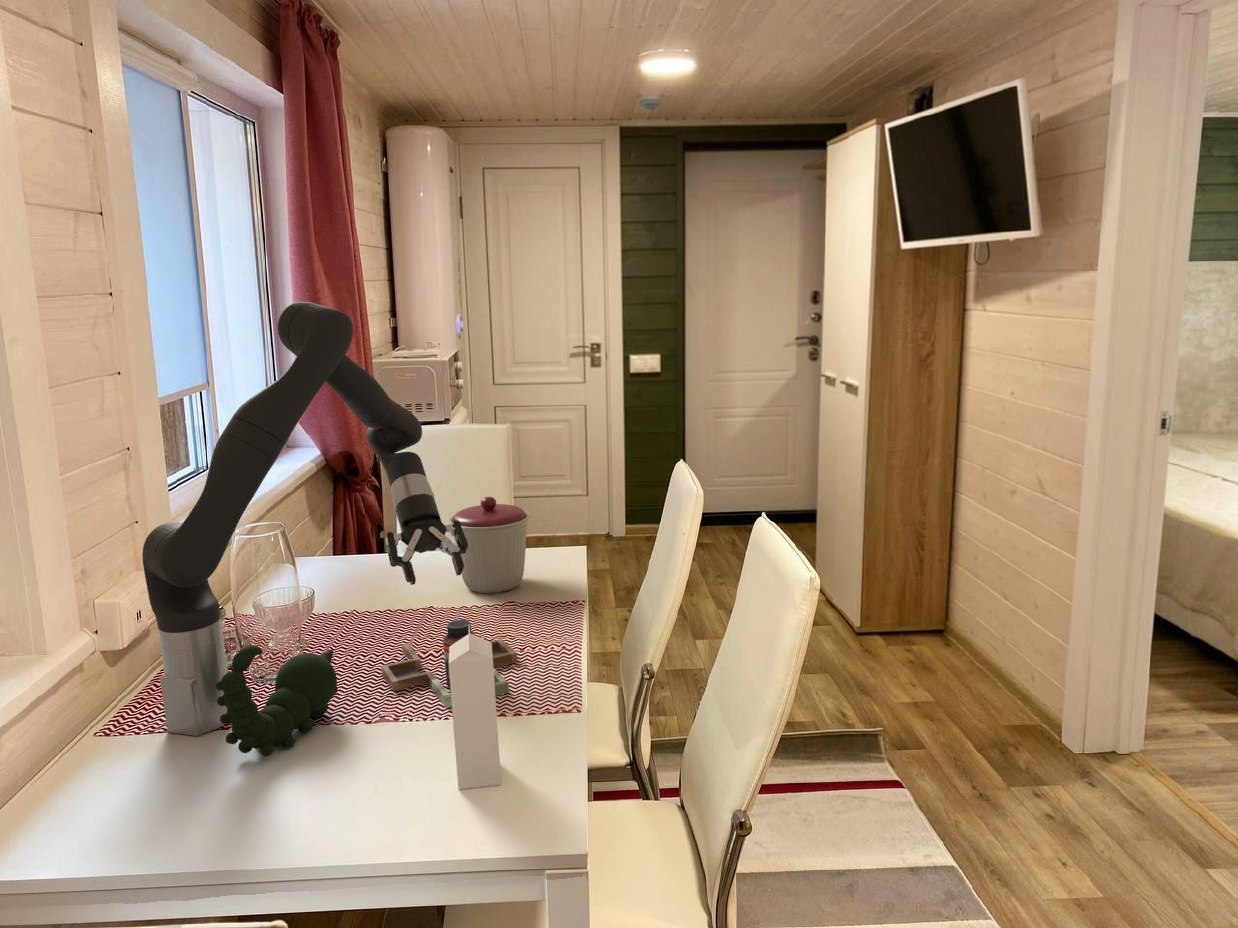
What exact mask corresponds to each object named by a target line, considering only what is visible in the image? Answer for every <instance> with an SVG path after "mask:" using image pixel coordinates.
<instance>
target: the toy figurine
mask: <svg viewBox="0 0 1238 928" xmlns="http://www.w3.org/2000/svg"><path fill="white" fill-rule="evenodd" d="M263 653H264V651H263V650H262V648H261V647H260V646H258V645H254V644H253V645H251V644H250V645H249V644H248V645H246V646H244V647H243V648H241V649H240V650H238V651H237V653H236V654H234V657H233V658H232V661H231V667H232V670H231V671H228V673H226V674H225V675H224V676H223V677H222V679H221V681H219V682H217V683H216V689H217V690H222V691H223V692H224V694H223V696H220V697H218V699H217V703H218V705H220V706H226V707H227V708H228V709H227V714H223V715H221V717H220V722H221V723H223V724H225V725H227V724H229V723H230V724H231V732H228V734H227V735H226V737H225V742H226V744H228V745H236V744H237V742H238V741H240V742H239V743H238V747H237V749H238V750H239V752H241V754H247V753H250V752H251V751H253V749H256V750H259V753H260V754H261V755H262V756H263V757H269V756H271V755H272V754H273V753H274V752H275V747H277V746H280V745H281V747H282V748H284V749H291V748H293V747H294V746H295V743H296V739H295V737H294V735H293V733H294V731H295V730H298V731H299V732H300V733H302V734H306V733H309V732H311V731H312V730H313V729H314V725H315V724H314V723H315V722H314V720H313V719H312V717H314V718H319V717H321V716H324V715H325V714H326V713H327V712H328V710H329V703H330V701H331V700H332V698H333V697H335V695H336V694H337V693H338V691H339V690H338V677H337V672H336V671H335V668H334V666H333V664H332V660H333V656H334V650H333V649H329V650H327V651H325V652H323V653H321V654H318V653H314V652H313V653H311V652H306V653H305V652H303V653H300V654H297V655H294V656H292V657H290V658H289V659H288V660H286V662H284V664H283V665H282V666H281V667H280V669H279V670H278V671H277V674H276V678H275V681H274V692H272V694H270V695H269V696H268V699H267V700H266V703H265V704H264V705H265V706H264V707H263V708H261V710H259V708H258V705H257V702H255V701H254V700H253V693H252V691H251V688H250V687H249V686H248V685H247V677H246V676H245V675H244V674H243V673H244V672H245V671H247V670H248V669H249V667H251V664H252V662H253V660H254V658H255V657H256V656H257V655H258V656H261V655H263Z"/></svg>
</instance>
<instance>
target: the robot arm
mask: <svg viewBox="0 0 1238 928" xmlns="http://www.w3.org/2000/svg"><path fill="white" fill-rule="evenodd" d="M277 332H278V337H279V340H280V342H281V343H282V345H283V346H284V347H285V348H286V349H287V350H288V351H289V352H291V353H292V354H293V355H294V356H295V359H294V360H293V362H292V363H291V365H290V366H289V368H288V369H287V370H285V372H284V373H283V374H282V375H281V376H280V377H278V379H276V380H275V381H273V383H271V384H270V385H268V386H266V387H265V388H263V389H261V390H260V391H258V392H257V393H255V394H254V395H252V396H251V397H250V398H249V399H248V400H246V401H245V402H244V403H242V404H241V405H240V407H238V409H237V410H236V411H235V412H234V413H233V415H232V417H230V418H231V419H230V420H229V421H228V423H227V425H226V426H225V428H224V430H223V431H222V433H221V434H220V436H219V438H218V440H217V442H216V444H215V445H214V449H213V453H212V455H211V459H210V464H209V469H208V472H207V476H206V481H205V484H204V487H203V490H202V491H201V494H200V496H199V498H198V499H197V502H196V504H194V506H193V508H192V509H191V510H190V512H189V514H188V515H187V516H186V518H185V519H184V520H183V522H180V521H170V522H165V523H163V524H162V523H161V524H160V525H158V526H156V527H155V528H154V529H153V530H152V531H151V532H150V533H148V535H147V537H146V539H145V541H144V543H143V546H142V565H143V573H144V578H145V585H146V589H147V594H148V600H149V604H150V607H151V610H152V611H153V612H152V613H153V615H154V616H155V619H156V624H157V625H156V626H157V633H158V639H159V645H160V653H161V660H162V666H163V675H161V676H159V683H160V689H161V695H162V703H163V709H164V710H163V711H164V717H165V724H166V730H167V732H168V733H173V734H180V735H181V734H182V735H188V736H193V737H199V736H200V735H203V734H204V733H207V732H212V731H215V730H217V729H219V728H221V727H223V726H225V725H226V724H223V723H221V722H220V717H221V715H223V714H227V709H228V708H227V707H226V706H220V705H218V703H217V699H218V697H220V696H223V694H224V692H223V691H222V690H217V689H216V683H217V682H219V681H221V679H222V677H223V676H224V675H225V674H226V673H228V672H229V671H228V663H227V657H226V656H227V655H226V648H225V640H224V634H223V633H224V632H223V626H222V625H223V624H222V617H221V608H220V604H219V602H218V601H219V600H218V599H217V597H216V596H215V594H214V593H213V591H212V588H211V586H210V584H209V578H210V577H211V576H212V575H213V573H214V572H215V571H216V570H217V568H218V566H219V564H220V563H221V560H222V559H223V556H224V554H225V551H226V549H227V548H228V545H229V544H230V541H231V539H232V537H233V535H234V533H235V531H236V528H237V526H238V524H239V522H240V520H241V519H242V516H243V514H244V513H245V511H246V509H247V508H248V506H249V505H250V503H251V501H252V499H253V498H254V496H255V495H256V494H257V492H258V490H259V489H260V486H261V485H262V483H263V481H264V480H265V478H266V476H267V475H268V473H269V471H270V470H271V468H272V467H273V466H274V464H275V462H276V460H277V459H278V457H279V456H280V455H281V452H282V451H283V449H284V448H285V445H286V444H287V442H288V440H289V438H290V437H291V435H292V433H293V432H294V430H295V428H296V427H297V425H298V423H299V421H301V418H302V417H303V415H304V414H305V412H306V411H307V409H308V407H309V405H310V404H311V403H312V401H313V400H314V398H315V397H316V396H317V394H318V393H319V391H320V389H321V388H322V387H323V386H324V385H325V383H326V384H327V385H329V387H331V389H333V391H334V392H336V394H337V395H338V396H339V398H340V399H341V400H342V401H343V402H344V403H345V404H346V405H347V407H348V408H349V409H350V410H351V412H352V413H353V414H354V415H355V417H357V419H358V420H359V422H361V423H362V424H363V425H364V426H365V427H367V431H366V440H367V443H368V445H369V446H370V448H371V450H372V451H373V452H374V454H375V455H376V456H377V458H378V459H379V461H380V462H381V465H382V467H383V469H384V471H385V473H386V476H387V480H388V483H389V487H390V490H391V491H390V492H391V499H392V502H393V506H394V510H395V514H396V518H397V520H398V521H397V522H398V524H399V528H400V532H398V533H393V532H392V531H388V532H387V533H386V538H385V545H386V550H387V555H388V560H389V564H390V565H389V566H391V567H392V568H393V567H394V568H396V567H400V568H402V571H403V575H404V578H405V581H406V583H410V585H411V586H412V585H413V586H414V585H415V584H416V581H417V579H416V574H415V571H414V568H413V567H414V566H413V564H412V559H413V557H414V556H415V553H416V552H417V553H419V554H423V553H425V552H433V551H436V550H439V551H440V552H442V553H444V554H446V555H449V556H450V557H451V562H452V565H453V568H454V571H455V575H456V576H457V577H458V576H462V572H463V569H464V564H463V561H462V557H461V554H464V553H466V550H467V547H468V543H467V540H466V537H465V535H464V532H463V530H462V527H461V525H460V522H459V521H457V520H455V521H454V522H453V524H450V523H449V524H446V525H445V524H444V523H443V522H442V519H441V516H440V515H441V514H440V513H439V509H438V506H437V503H436V500H435V493H434V492H433V490H432V487H431V485H430V483H429V481H428V478H427V475H426V470H425V468H424V465H423V461H422V459H421V457H420V456H419V455H418V454H417V453H416V452H413V451H403V450H405V449H408V448H410V447H412V446H414V445H416V444H418V443H419V442H420V441H421V439H422V436H423V428H422V425H421V422H420V421H419V419H418V418H417V416H416V415H414V414H413V413H412V412H411V411H410V410H409V409H407V408H405V407H404V406H402V405H400V404H399V403H397V402H396V401H394V400H393V399H391V398H390V396H389V395H388V393H387V392H386V391H385V390H384V388H383V387H382V385H381V384H380V382H378V380H377V379H375V377H373V376H372V375H371V374H370V373H369V371H368V372H367V371H366V370H365V369H364V368H363V367H361V366H360V365H359V364H358V363H356V362H355V361H354V360H352V359H351V358H350V357H349V356H348V355H346V354H347V353H348V351H349V348H350V346H351V344H352V340H353V337H354V336H353V335H354V325H353V322H352V320H351V317H350V316H349V315H348V314H346V313H345V312H343V311H341V310H339V309H336V308H332V307H328V306H325V305H321V304H318V303H314V302H311V301H310V302H309V301H296V302H291V303H290V304H288V305H287V306H285V307H284V308H283V309H282V312H281V313H280V315H279V318H278V321H277ZM401 451H402V452H401ZM446 533H449V534H450V536H451V537H453V538H454V537H455V538H454V541H455V540H456V543H457V545H458V546H456V544H455V543H453V542H452V540H451V539H450V538H449V537H447V536H446ZM400 541H401V542H402V543H404V545H406V546H407V547H406V550H405V551H404V553H403V555H402V556H399V554H398V550H397V546H398V545H399V542H400Z"/></svg>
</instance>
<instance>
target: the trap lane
mask: <svg viewBox="0 0 1238 928" xmlns="http://www.w3.org/2000/svg"><path fill="white" fill-rule="evenodd" d="M489 642H491V643H492V655H493V669H494V684H495V697H497V696H499V695H504V694H508V693H509V692H510V690H509V681H507V680H506V678H504V677H503V676H502V674H500V673H499V672H498V671H497V669H495V668H499V667H503V666H507V665H510V664H511V665H512V664H515V663H518V653H517V652H516V651H515V650H514V649H513V648H512V647H511V646H510V645H509V644H508V643H507V642H505V641H504V640H503V639H502V638H499V639H494V640H490V641H489ZM401 648H402V654H403V653H404V654H405V655H406V656H405V655H404V654H403V655H404V656H405V657H407V658H408V659H409V660H408V659H407V658H406V660H405V659H404V660H401V661H397V662H392V663H388V664H383V665H380V668H381V676H382V678H383V679H384V678H385V679H384V680H385V682H386V681H387V682H386V684H387V685H388V684H389V685H388V686H389V688H390V687H391V688H390V689H391V690H393V691H395V692H397V690H399V691H402V690H401V689H403V690H406V688H407V689H410V688H409V687H411V688H414V687H413V686H415V687H418V686H417V685H420V686H423V684H424V685H428V687H429V688H430V689H431V691H432V692H433V693H434V694H435V695H436V697H437V698H438V699H439V700H440V702H441V703H442V705H444V707H445V708H446V709H448V708H452V702H451V693H450V692H448V690H447V689H446V688H445V687H444V685H442V683H441V682H440V681H439V679H438V678H437V677H436V676H435V675H434V673H433V672H432V671H431V670H428V671H425V672H424V671H423V672H420V671H419V670H420V668H421V669H422V660H421V658H420V656H419V655H418V654H417V652H415V650H414V649H413V648H412V647H411V646H410V644H409V643H408V642H405V643H402V644H401ZM393 691H392V692H393Z"/></svg>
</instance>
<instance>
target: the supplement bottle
mask: <svg viewBox="0 0 1238 928" xmlns="http://www.w3.org/2000/svg"><path fill="white" fill-rule="evenodd" d="M469 625H470V634H473V635H475V636H477V634H476V633H475V632H473V631H472V626H471V622H470V621H469V620H468V619H457V620H452V621H450V622H448V623H447V625H446V628H447V629H446V630H447V634H446V635H445V636H444V637H443V640H442V645H443V647H442V648H443V657H444V667H445V669H444V670H445V678H446V679H445V680H446V686H447V687H448V688H449V689H450V676H449V647H450V646H451V645H453V644H454V643H456V642H457V641H459V640H460V639H462V638H463V637H465V636H466V635H468V634H469Z"/></svg>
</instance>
